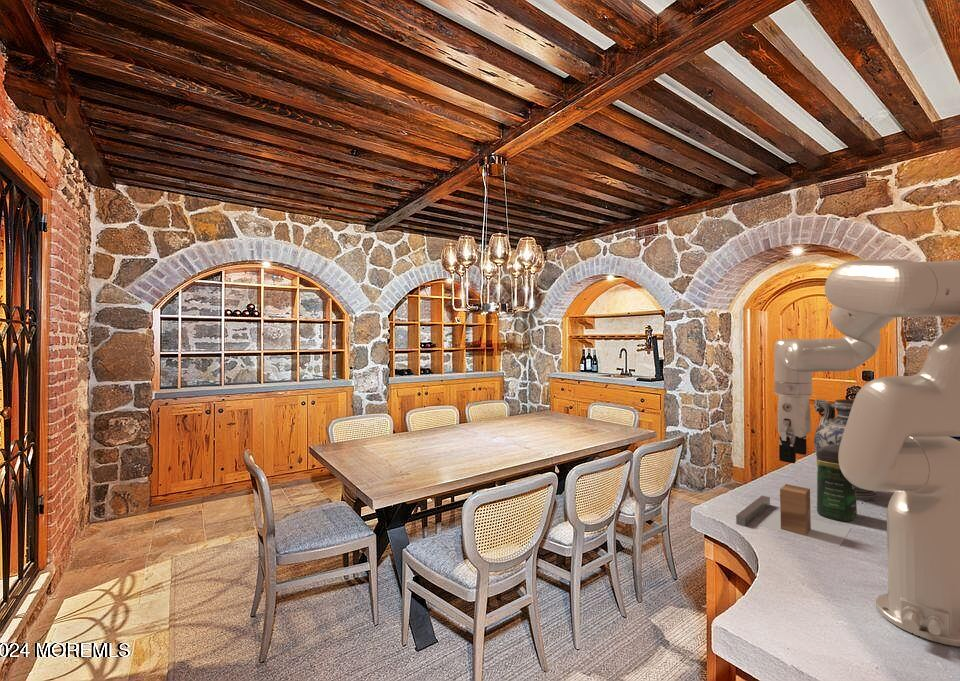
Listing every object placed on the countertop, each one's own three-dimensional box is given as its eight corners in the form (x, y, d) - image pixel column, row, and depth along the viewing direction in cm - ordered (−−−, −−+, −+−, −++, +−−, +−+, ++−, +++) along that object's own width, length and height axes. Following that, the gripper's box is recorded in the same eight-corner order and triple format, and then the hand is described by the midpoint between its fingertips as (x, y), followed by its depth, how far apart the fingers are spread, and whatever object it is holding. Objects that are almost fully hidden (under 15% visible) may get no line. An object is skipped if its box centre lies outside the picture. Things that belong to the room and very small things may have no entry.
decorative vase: (918, 500, 124) (915, 402, 124) (880, 512, 117) (876, 409, 117) (834, 479, 144) (831, 394, 143) (797, 488, 137) (793, 399, 137)
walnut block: (805, 535, 104) (804, 493, 104) (780, 529, 107) (780, 488, 107) (810, 529, 107) (810, 488, 107) (786, 523, 111) (785, 484, 111)
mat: (838, 548, 98) (838, 547, 98) (758, 526, 110) (758, 525, 110) (850, 529, 107) (850, 528, 107) (775, 511, 119) (775, 510, 119)
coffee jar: (852, 525, 109) (851, 452, 109) (813, 516, 115) (812, 446, 115) (860, 515, 115) (859, 445, 115) (823, 506, 121) (822, 440, 121)
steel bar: (745, 527, 109) (744, 517, 109) (736, 525, 111) (736, 515, 111) (770, 506, 123) (769, 497, 123) (762, 504, 124) (761, 495, 124)
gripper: (802, 394, 99) (802, 469, 99) (820, 386, 110) (820, 453, 110) (764, 391, 104) (764, 462, 105) (785, 384, 116) (785, 448, 116)
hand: (793, 457), depth 108 cm, fingers open, 9 cm apart
